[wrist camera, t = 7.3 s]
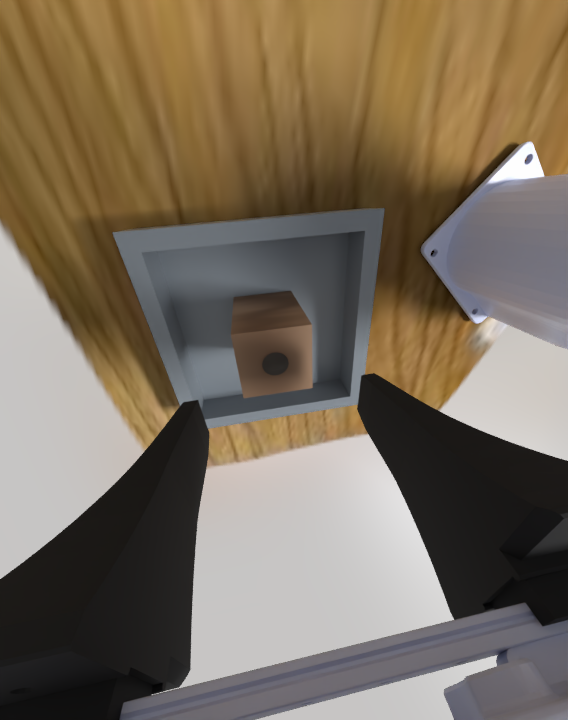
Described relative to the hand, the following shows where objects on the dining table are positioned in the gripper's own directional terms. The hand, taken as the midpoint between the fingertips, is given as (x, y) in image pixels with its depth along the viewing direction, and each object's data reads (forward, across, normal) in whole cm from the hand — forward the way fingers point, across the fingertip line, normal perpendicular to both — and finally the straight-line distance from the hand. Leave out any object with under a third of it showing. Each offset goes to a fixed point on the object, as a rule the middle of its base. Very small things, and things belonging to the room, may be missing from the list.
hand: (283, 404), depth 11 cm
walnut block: (+9, 0, 0) cm, 9 cm away
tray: (+9, 0, 0) cm, 9 cm away
